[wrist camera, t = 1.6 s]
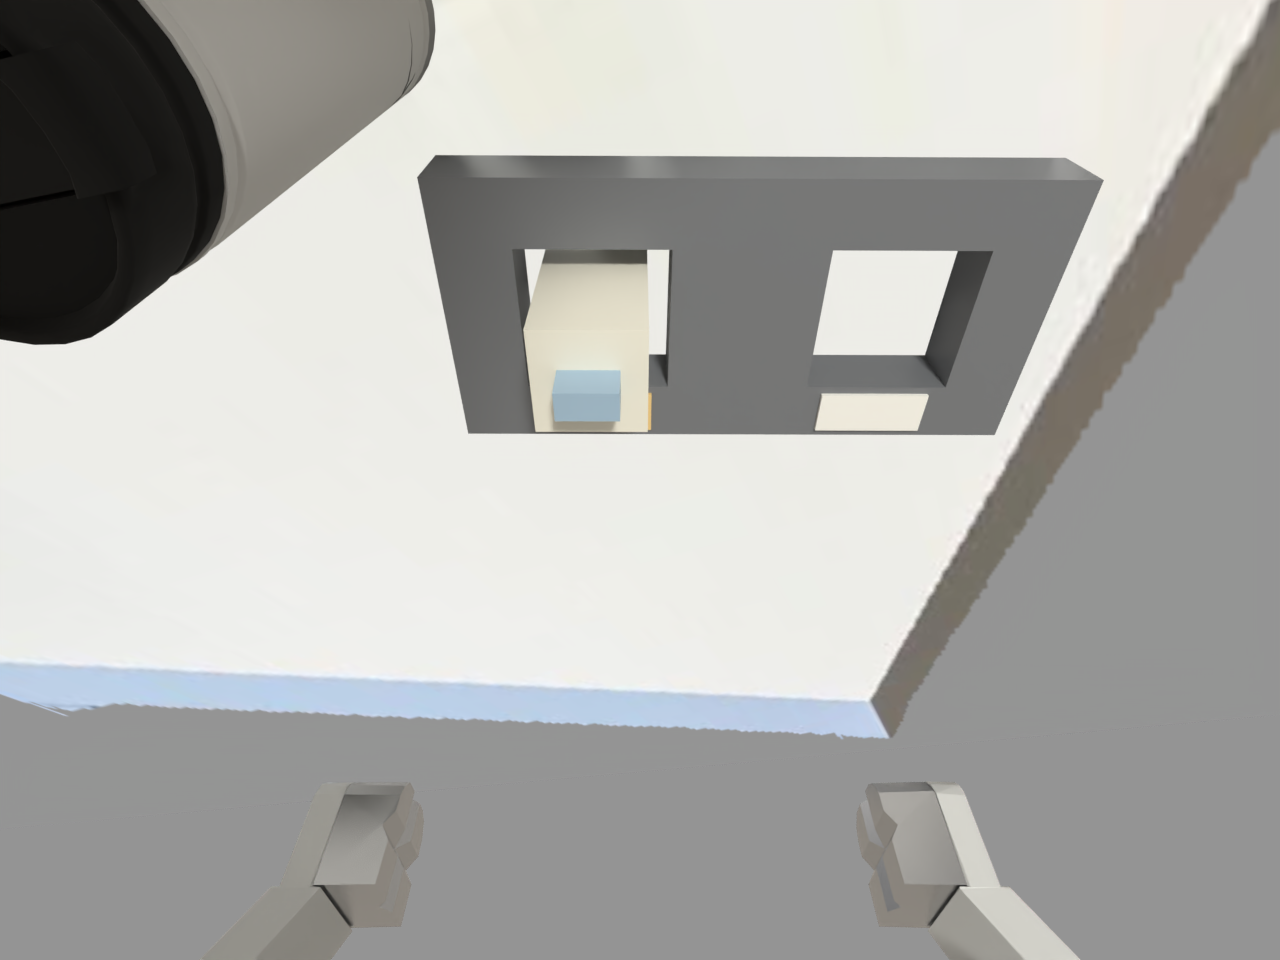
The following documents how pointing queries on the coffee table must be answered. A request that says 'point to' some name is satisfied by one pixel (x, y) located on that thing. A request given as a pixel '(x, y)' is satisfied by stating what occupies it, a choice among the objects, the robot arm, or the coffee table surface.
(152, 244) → the travel mug
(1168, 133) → the coffee table surface
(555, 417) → the plug
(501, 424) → the panel
